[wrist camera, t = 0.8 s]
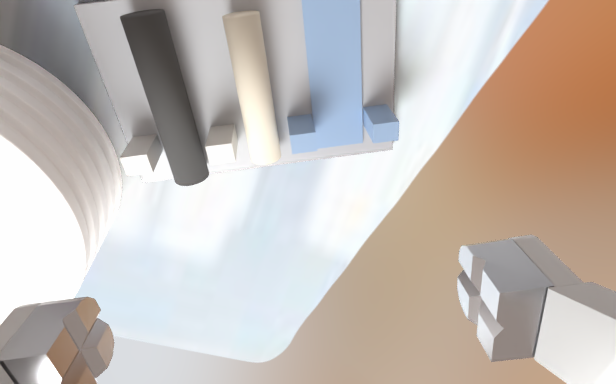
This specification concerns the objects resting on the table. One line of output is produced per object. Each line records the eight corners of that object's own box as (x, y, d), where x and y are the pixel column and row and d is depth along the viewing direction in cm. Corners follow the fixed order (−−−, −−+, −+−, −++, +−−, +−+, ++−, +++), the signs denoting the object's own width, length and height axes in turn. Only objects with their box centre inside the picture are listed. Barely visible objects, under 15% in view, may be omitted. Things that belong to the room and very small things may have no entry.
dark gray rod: (127, 12, 34) (113, 20, 31) (168, 7, 34) (158, 14, 32) (178, 169, 43) (171, 187, 40) (211, 165, 43) (206, 183, 40)
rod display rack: (77, 3, 35) (49, 15, 30) (394, -35, 35) (413, -29, 31) (144, 178, 45) (131, 206, 40) (390, 145, 45) (404, 169, 41)
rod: (223, 13, 35) (220, 20, 33) (259, 8, 35) (259, 15, 33) (251, 152, 43) (250, 166, 40) (280, 148, 43) (281, 162, 40)
